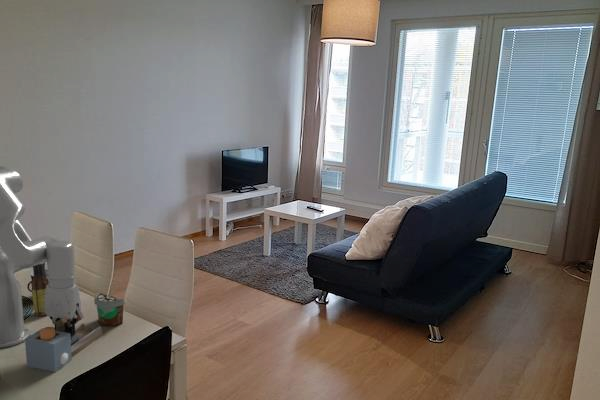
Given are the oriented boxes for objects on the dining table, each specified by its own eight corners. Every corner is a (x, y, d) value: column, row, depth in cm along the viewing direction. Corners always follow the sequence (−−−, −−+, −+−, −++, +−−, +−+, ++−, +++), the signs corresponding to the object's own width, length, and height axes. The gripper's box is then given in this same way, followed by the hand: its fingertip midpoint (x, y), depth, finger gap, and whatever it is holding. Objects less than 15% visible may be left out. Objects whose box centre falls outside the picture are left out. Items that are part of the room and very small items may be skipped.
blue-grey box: (27, 366, 145) (24, 338, 143) (44, 354, 152) (42, 328, 150) (56, 372, 143) (54, 344, 141) (72, 360, 149) (71, 333, 148)
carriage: (52, 349, 152) (50, 323, 150) (65, 340, 157) (64, 314, 155) (66, 352, 150) (64, 325, 149) (79, 343, 156) (77, 317, 154)
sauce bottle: (56, 310, 182) (53, 260, 177) (46, 317, 176) (43, 266, 171) (40, 308, 182) (36, 258, 178) (29, 316, 176) (25, 264, 172)
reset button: (37, 345, 145) (36, 331, 144) (47, 339, 148) (46, 325, 147) (49, 347, 144) (48, 334, 143) (58, 341, 147) (57, 328, 146)
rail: (45, 355, 151) (45, 347, 150) (82, 331, 167) (81, 323, 167) (67, 360, 149) (67, 351, 149) (102, 334, 165) (102, 326, 165)
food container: (87, 322, 174) (86, 296, 171) (101, 316, 179) (100, 290, 177) (111, 331, 168) (110, 304, 166) (125, 324, 173) (124, 298, 171)
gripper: (30, 281, 147) (34, 336, 151) (77, 289, 144) (79, 345, 148) (48, 273, 155) (51, 326, 158) (93, 280, 151) (95, 334, 155)
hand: (65, 334), depth 153 cm, fingers open, 3 cm apart
